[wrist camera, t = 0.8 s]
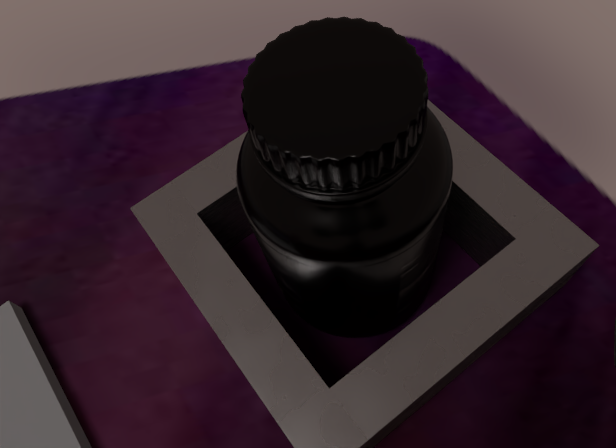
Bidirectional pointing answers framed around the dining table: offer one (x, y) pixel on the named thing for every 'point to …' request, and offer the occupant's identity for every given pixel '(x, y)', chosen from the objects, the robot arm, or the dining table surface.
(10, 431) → the lid
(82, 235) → the dining table surface
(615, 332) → the robot arm
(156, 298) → the dining table surface
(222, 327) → the housing
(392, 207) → the supplement bottle
